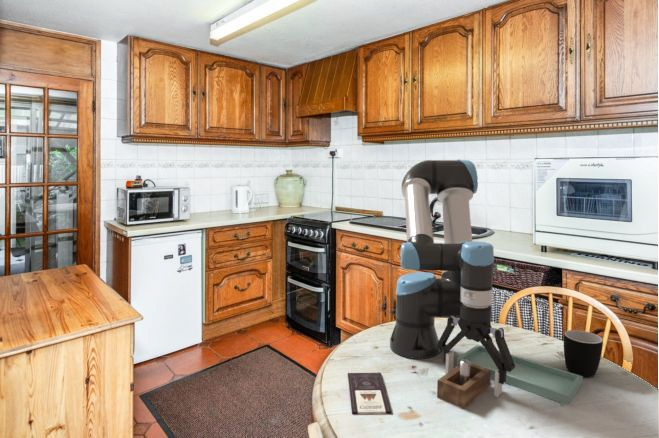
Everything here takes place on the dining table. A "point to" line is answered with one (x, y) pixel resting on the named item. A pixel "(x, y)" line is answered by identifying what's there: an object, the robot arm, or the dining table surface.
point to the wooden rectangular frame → (463, 386)
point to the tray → (530, 375)
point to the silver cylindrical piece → (464, 371)
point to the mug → (582, 352)
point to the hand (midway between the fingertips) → (472, 384)
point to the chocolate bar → (368, 394)
